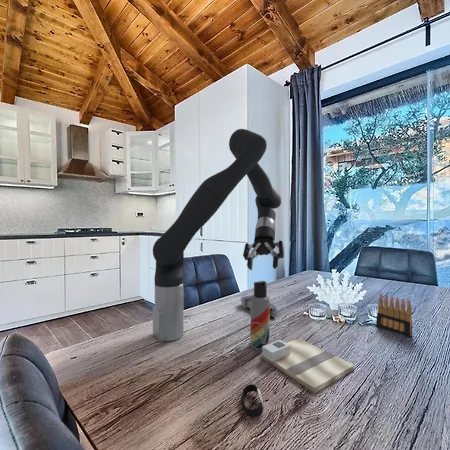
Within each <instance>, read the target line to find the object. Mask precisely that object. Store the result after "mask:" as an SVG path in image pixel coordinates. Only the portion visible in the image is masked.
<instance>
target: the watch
mask: <svg viewBox="0 0 450 450" xmlns="http://www.w3.org/2000/svg"><path fill="white" fill-rule="evenodd" d="M251 392H255V393H257V395H258V399H259V402H260V406H259V407H258V408H256V409H250V408H248V407H247V406H246V402H245V399H246V396H247V395H248V394H249V393H251ZM263 400H264V399H263V397H262V393H261V390H260V388H258V387H257V386H256V385H255V384H251V383H250V384H248V385H246V386H245V387H244V388H243V389H242V393H241V403H242V407H243V408H244V410H246V411H245V412H246V414H247V413H248V414H249V415H250V416H249V415H248V414H247V415H248V416H249V417H251V416H252V418H258V417H260V416H261V415H262V414H263V413H264V412H263V411H264V407H265V404H264V401H263Z"/></svg>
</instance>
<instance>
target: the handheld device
mask: <svg viewBox="0 0 450 450" xmlns="http://www.w3.org/2000/svg"><path fill="white" fill-rule="evenodd" d="M252 295H253V294H250V295H245V296H244V295H243V296H241V298H240V302H241V306H242V307H243V309H250V310H251V296H252ZM277 313H278V310H277V307H276V306H275V305H274V304H273V303H271V302H270V318H271V317H273V318H276V317H277V315H278V314H277Z"/></svg>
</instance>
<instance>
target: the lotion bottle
mask: <svg viewBox="0 0 450 450" xmlns="http://www.w3.org/2000/svg"><path fill="white" fill-rule="evenodd" d="M267 283H268V282H267V281H266V280H259V281H254V282H253V294H251V295H252V296H251V309H250V325H249V326H250V335H249V337H250V339H249V340H250V341H249V342H250V343H249V344H250V347H251V348H252V349H253V350H256V351H262V346H264V345H267V344H270V318H271V317H270V303H271V301H270V296H269V295H267V292H268V290H267V288H268V287H267V286H268V285H267Z"/></svg>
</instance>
